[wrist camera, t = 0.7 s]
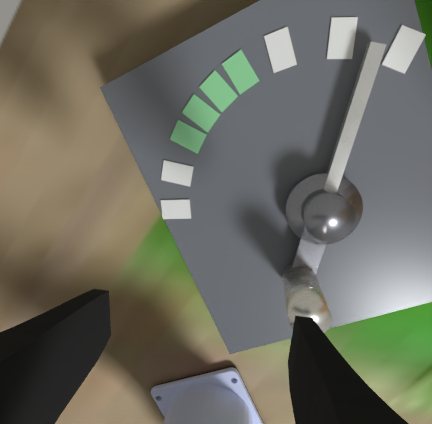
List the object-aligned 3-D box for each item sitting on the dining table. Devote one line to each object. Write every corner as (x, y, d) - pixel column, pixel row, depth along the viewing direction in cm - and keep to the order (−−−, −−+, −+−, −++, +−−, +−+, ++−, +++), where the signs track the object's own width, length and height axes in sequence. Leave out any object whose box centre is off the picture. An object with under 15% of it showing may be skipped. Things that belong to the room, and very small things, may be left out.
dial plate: (459, 267, 20) (488, 288, 17) (232, 330, 23) (229, 355, 21) (376, -45, 16) (398, -77, 13) (118, 92, 19) (98, 87, 17)
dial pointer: (326, 298, 18) (345, 346, 14) (262, 282, 19) (263, 325, 15) (415, 54, 14) (476, 28, 10) (331, 39, 15) (358, 7, 11)
